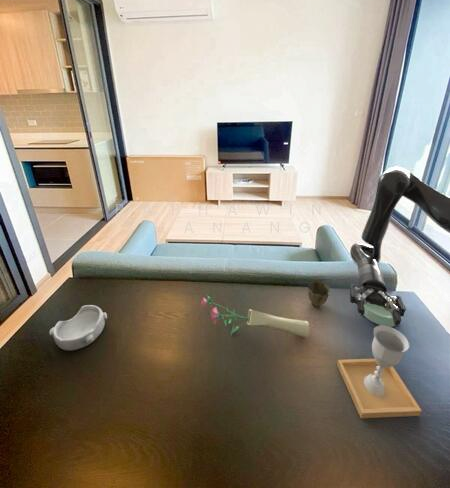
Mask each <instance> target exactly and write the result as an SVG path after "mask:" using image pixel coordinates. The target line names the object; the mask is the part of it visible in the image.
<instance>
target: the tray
mask: <svg viewBox="0 0 450 488" xmlns="http://www.w3.org/2000/svg"><path fill="white" fill-rule="evenodd" d="M336 365H337V368H338V371H339V373H340V375H341V377H342V380H343V381H344V384H345V386H346V388H347V391H348V393H349V395H350V397H351V400H352V402H353V404H354V406H355V408H356V411H357V413H358V415H359V418H360V419H371V418H372V419H377V418H399V417H420V415H421V413H422V412H423V411H422V409H421V408H420V406H419V405H418V403H417V401H416V400H415V398H414V397H413V395H412V394H411V392H410V390H409V389H408V388H407V386H406V385H405V382H404V381H403V380H402V378H401V376H400V375H399V374H398V372H397V371H396V369H395V367H394V366H392V367H389V368H383V370H384V372H382V377H381V378H380V379H381V380H382V381H383V383H384V387H385V391H386V392H385V395H384V396H382V397H377V396H375V395H373V394H371V393H370V392H369V391H368V390H367V389H366V387H365V385H364V378H365V377H366V376H368V375H370V374H374V375H375V373H374V372H375V371H376V370H377V368H376V367H377V366H379V365H378V364H377V363H376V360H375V358H354V359H353V358H352V359H351V358H350V359H338V360H337V362H336Z"/></svg>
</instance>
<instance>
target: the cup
mask: <svg viewBox="0 0 450 488" xmlns="http://www.w3.org/2000/svg"><path fill="white" fill-rule="evenodd" d="M330 293H331V290H330V286H328V284H327V283H324V284H323V283H322V281H321V280H317V279H315V280H314V281H313V280H311V282H310V281H309V282H308V285H307V296H308V299H309V301H310V303H311V305H312V306H313V307H314V308H320V307H321V306H323V305H324V304H326V303H327V300H328V298H329V295H330Z"/></svg>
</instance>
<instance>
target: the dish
mask: <svg viewBox="0 0 450 488" xmlns="http://www.w3.org/2000/svg"><path fill="white" fill-rule="evenodd" d="M107 319H108V313H107V312H103V310H102V309H101V308H100V307H99V306H97V305H94V304H87V305H83V306H81V307H80V309H79V310H78V312H77V313H76V314H75V315H74V316H73V317H72V318H70V319H68V320H59V321H57V322H56V324H55V326H53V327H52V328H50V330H49V336H50V337H53V340H54V342H55V345H56V346H58V348H59V349H60V350H64V351H75V350H79V349H82V348H84V347H86V346H88V345H90V344H92V343H93V342H94V341H95V340H96V339H98V337H99V336H100V335H101V334H102V331H103V330H104V328H105V324H106V320H107Z"/></svg>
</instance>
